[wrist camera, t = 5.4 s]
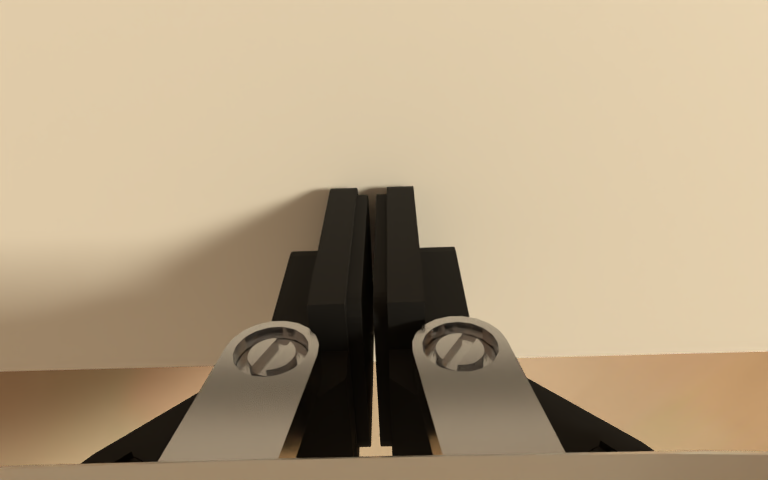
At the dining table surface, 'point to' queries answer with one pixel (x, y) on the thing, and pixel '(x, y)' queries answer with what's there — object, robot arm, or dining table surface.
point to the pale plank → (381, 167)
